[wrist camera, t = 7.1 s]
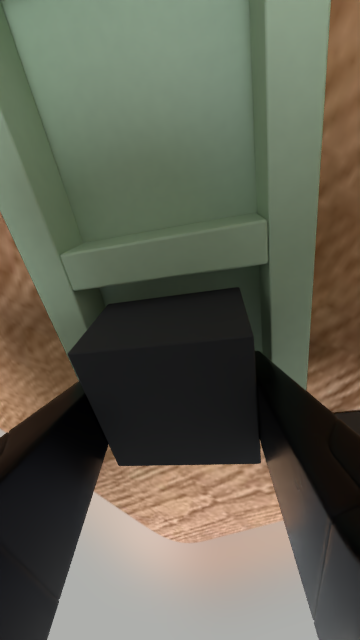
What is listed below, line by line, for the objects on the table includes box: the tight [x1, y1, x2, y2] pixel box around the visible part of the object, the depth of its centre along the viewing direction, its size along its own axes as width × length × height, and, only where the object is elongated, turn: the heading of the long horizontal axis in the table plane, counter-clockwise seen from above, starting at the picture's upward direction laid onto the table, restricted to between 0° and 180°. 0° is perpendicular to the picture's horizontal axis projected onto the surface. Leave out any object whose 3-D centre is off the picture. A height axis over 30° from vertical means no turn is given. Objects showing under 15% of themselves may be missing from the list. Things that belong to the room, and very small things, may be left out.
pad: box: [68, 287, 261, 466], centre depth 8 cm, size 4×4×3 cm
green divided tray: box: [0, 0, 331, 390], centre depth 8 cm, size 8×16×2 cm, turn 10°
